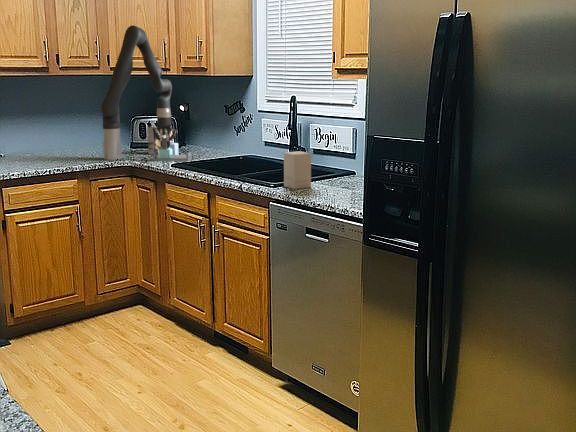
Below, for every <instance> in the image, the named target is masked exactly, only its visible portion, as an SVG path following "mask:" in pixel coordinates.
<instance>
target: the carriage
mask: <svg viewBox="0 0 576 432" xmlns="http://www.w3.org/2000/svg"><path fill="white" fill-rule="evenodd" d="M172 154H173V152H172V149H169V148H167V138H163V139H162V149H160V150H159V155H160V158H170V155H172Z"/></svg>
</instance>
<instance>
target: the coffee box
mask: <svg viewBox="0 0 576 432" xmlns="http://www.w3.org/2000/svg"><path fill="white" fill-rule="evenodd" d="M157 127H158V126H149V127H147V147H148V148H147V149H148V152H147V153H148V155H151V156H153V153H154V152H156V151H158V153H159V150H160V149H161V142H160V140H157V138H156V137H155V135H154V133H153V130H155V129H157ZM158 135H159V136H160V133H159V131H158ZM164 138H166V135H164Z"/></svg>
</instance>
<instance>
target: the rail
mask: <svg viewBox="0 0 576 432" xmlns="http://www.w3.org/2000/svg"><path fill="white" fill-rule="evenodd" d="M152 158H153V162H190V161H192V151H188V152H186V153H185V154H179V155H170V158H160V155H159V153H158V151H156V152H154V153H153V155H152Z"/></svg>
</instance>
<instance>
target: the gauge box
mask: <svg viewBox="0 0 576 432" xmlns="http://www.w3.org/2000/svg"><path fill="white" fill-rule="evenodd" d="M161 149H162V147H161ZM169 149H172V152H173V154H172V155H180V153H179V143H178V142H171V144H170V147H169Z"/></svg>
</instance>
